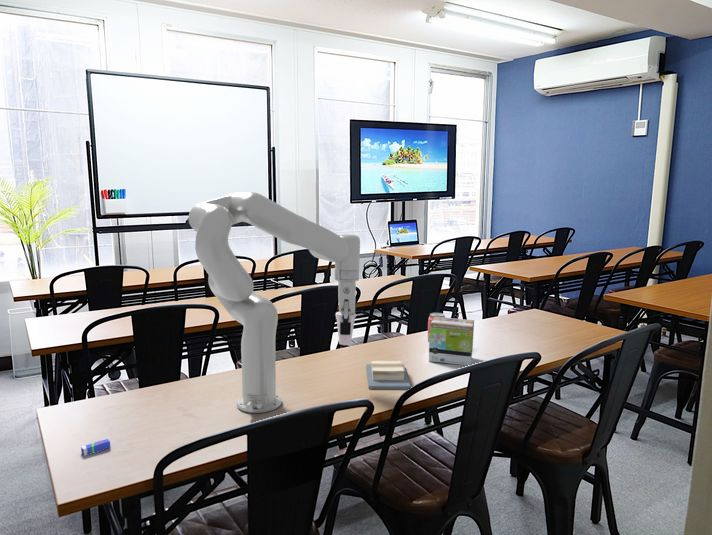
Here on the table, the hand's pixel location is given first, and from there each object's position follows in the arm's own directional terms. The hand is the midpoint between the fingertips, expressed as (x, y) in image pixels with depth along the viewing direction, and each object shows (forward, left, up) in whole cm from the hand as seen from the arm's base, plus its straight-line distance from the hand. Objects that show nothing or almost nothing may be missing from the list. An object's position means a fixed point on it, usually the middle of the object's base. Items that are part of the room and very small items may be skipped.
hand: (345, 331), depth 169 cm
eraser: (-43, +59, -18) cm, 75 cm away
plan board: (+6, -14, -18) cm, 23 cm away
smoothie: (0, 0, -4) cm, 4 cm away
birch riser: (+6, -14, -18) cm, 23 cm away
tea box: (+24, -38, -18) cm, 49 cm away
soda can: (+44, -36, -18) cm, 60 cm away
